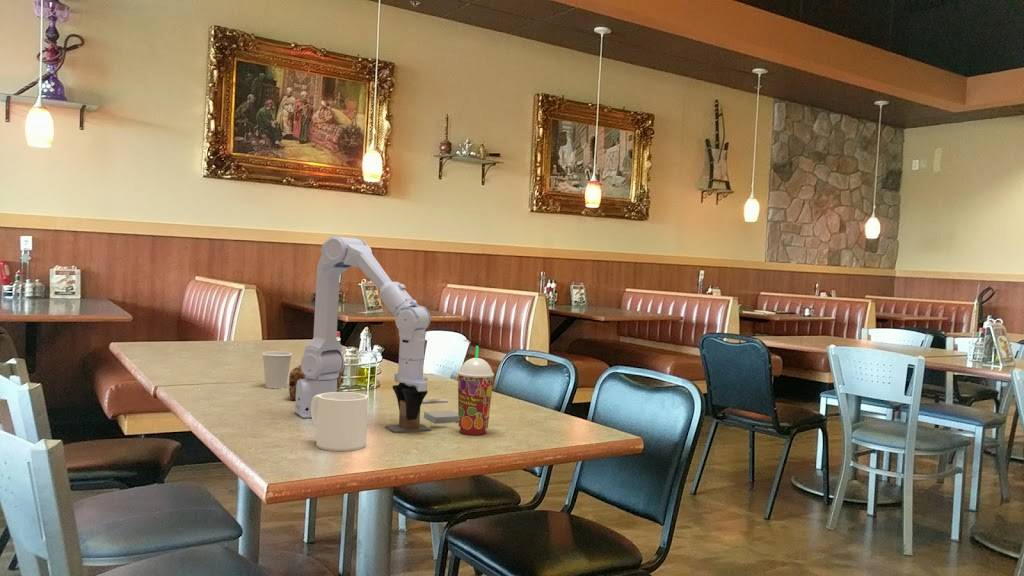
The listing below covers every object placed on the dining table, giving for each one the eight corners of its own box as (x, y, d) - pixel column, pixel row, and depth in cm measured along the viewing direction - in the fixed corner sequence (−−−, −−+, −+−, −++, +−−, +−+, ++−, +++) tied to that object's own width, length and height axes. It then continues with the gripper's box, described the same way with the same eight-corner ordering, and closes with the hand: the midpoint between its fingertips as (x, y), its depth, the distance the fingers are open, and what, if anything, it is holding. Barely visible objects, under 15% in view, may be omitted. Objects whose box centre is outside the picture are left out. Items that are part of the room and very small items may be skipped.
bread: (306, 390, 224) (307, 355, 224) (342, 392, 224) (344, 357, 223) (286, 401, 205) (287, 364, 205) (326, 403, 205) (328, 366, 205)
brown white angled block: (404, 429, 177) (406, 403, 176) (398, 426, 180) (400, 400, 180) (447, 426, 182) (448, 401, 182) (441, 423, 185) (442, 398, 185)
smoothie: (448, 433, 177) (453, 345, 176) (463, 426, 184) (467, 343, 184) (482, 438, 174) (487, 349, 173) (496, 431, 182) (500, 346, 181)
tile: (435, 417, 187) (463, 415, 191) (424, 411, 193) (451, 410, 197) (435, 425, 187) (463, 423, 191) (423, 419, 193) (451, 417, 197)
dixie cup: (254, 386, 225) (256, 352, 224) (280, 384, 231) (281, 350, 231) (271, 390, 219) (272, 355, 219) (296, 388, 226) (298, 353, 225)
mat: (394, 433, 174) (394, 431, 174) (384, 427, 179) (384, 425, 179) (431, 430, 179) (431, 428, 179) (420, 425, 184) (420, 423, 184)
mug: (375, 444, 163) (377, 395, 163) (347, 454, 154) (349, 402, 153) (325, 436, 168) (327, 388, 167) (295, 445, 159) (297, 395, 158)
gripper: (440, 362, 174) (437, 422, 175) (414, 354, 187) (412, 410, 187) (411, 363, 171) (408, 424, 171) (387, 355, 183) (384, 412, 184)
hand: (408, 417), depth 179 cm, fingers closed on brown white angled block, 3 cm apart
